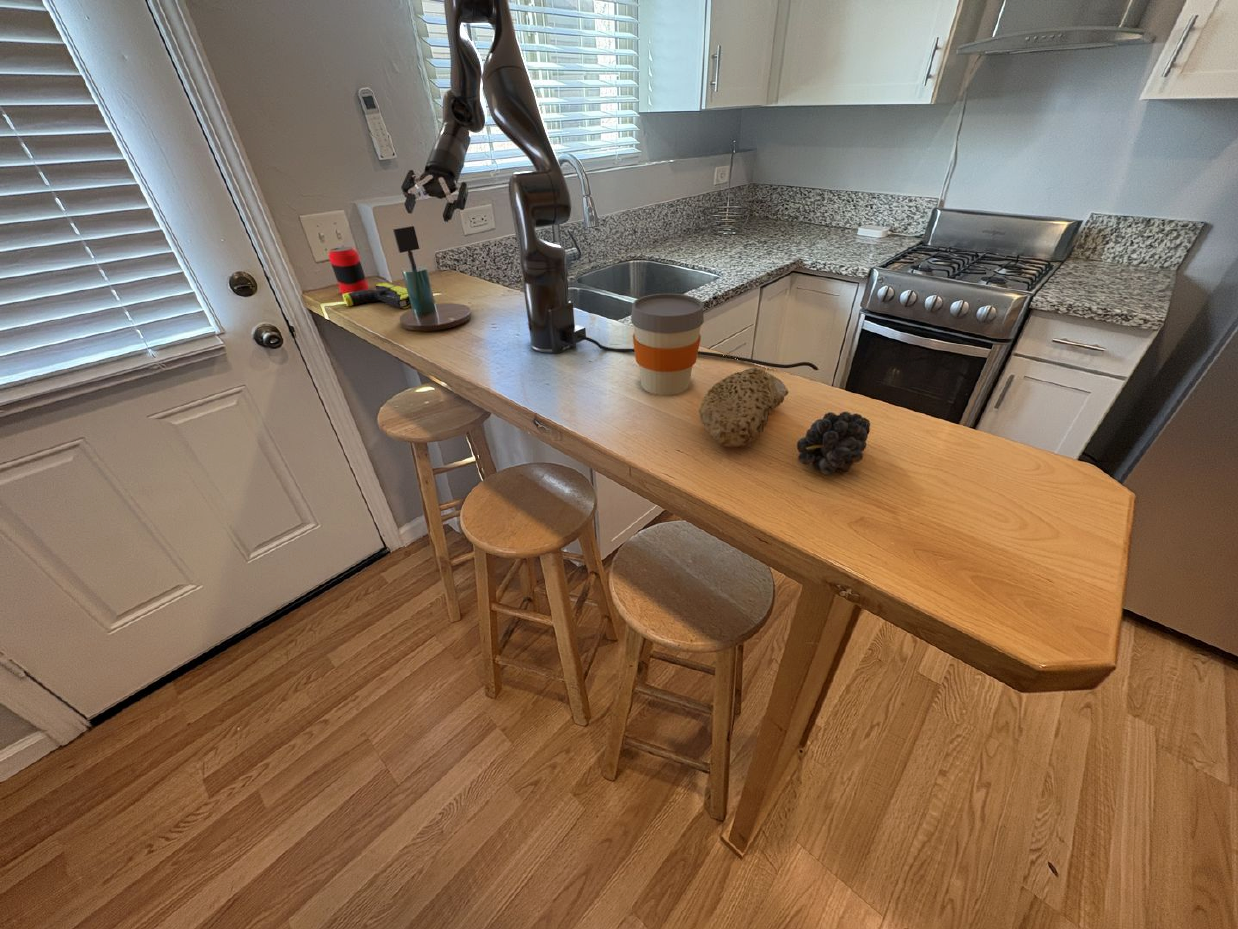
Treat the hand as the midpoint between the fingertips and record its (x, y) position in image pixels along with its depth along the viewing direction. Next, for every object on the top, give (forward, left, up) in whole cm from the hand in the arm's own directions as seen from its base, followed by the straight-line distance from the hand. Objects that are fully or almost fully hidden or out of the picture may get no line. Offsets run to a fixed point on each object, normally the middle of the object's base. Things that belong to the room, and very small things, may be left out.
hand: (426, 214), depth 113 cm
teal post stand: (-2, +5, -23) cm, 24 cm away
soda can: (+40, +6, -24) cm, 47 cm away
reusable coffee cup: (-68, -2, -24) cm, 72 cm away
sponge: (-86, +2, -24) cm, 89 cm away
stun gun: (+23, +6, -24) cm, 34 cm away
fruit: (-102, +2, -24) cm, 104 cm away
